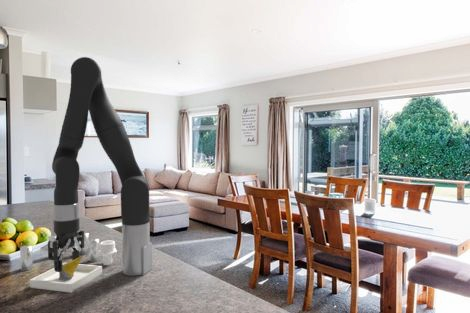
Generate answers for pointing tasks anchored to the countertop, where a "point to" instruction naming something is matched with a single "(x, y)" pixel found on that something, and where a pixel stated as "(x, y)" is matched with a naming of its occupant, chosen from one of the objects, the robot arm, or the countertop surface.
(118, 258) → the countertop surface
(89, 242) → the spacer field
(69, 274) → the stepped yellow cone
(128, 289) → the countertop surface
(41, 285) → the tray
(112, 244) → the pipe fitting
